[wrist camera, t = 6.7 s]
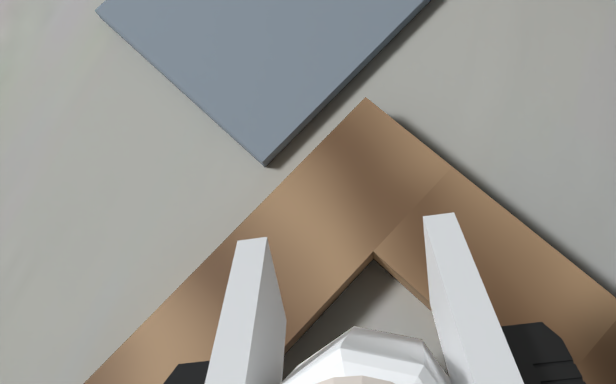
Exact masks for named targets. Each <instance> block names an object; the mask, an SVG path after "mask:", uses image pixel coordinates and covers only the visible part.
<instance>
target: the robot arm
mask: <svg viewBox="0 0 616 384" xmlns="http://www.w3.org/2000/svg"><path fill="white" fill-rule="evenodd" d="M423 226H424V238H425V250H426V262H427V274H428V286H429V298H430V306H431V310H432V313H433V317H434V321H435V325H436V329H437V332H438V336H439V340H440V344H441V348H442V351H443V355H444V359H445V363H446V367H447V370H448V374H449V378H450V382H451V384H586V383H585V382H584V381H583V377H582V375H581V373H580V371H579V370H578V368H577V366H576V364H574V362H573V358H572V356H571V355H570V353H569V351H568V349H567V347H566V345H565V343H564V341H563V340H562V338H561V337H559V336H558V335H557V334H556V333H555V332H553V331H552V330H551V329H550V328H549V327H547V326H546V325H545V324H544V323H543V322H535V323H526V324H517V325H508V326H500V323H499V321H498V319H497V316H496V314H495V311H494V309H493V306H492V304H491V301H490V299H489V297H488V294H487V292H486V289H485V287H484V284H483V282H482V279H481V277H480V275H479V272H478V270H477V267H476V265H475V262H474V260H473V257H472V255H471V253H470V250H469V248H468V245H467V243H466V240H465V238H464V235H463V233H462V231H461V228H460V226H459V223H458V221H457V218H456V216H455V213H454V212H452V213H445V214H437V215H430V216H423ZM286 321H287V320H286V316H285V312H284V307H283V303H282V299H281V295H280V290H279V286H278V282H277V278H276V273H275V269H274V265H273V261H272V256H271V252H270V248H269V243H268V239H267V237H262V238H254V239H247V240H239V241H237V245H236V249H235V254H234V258H233V262H232V267H231V271H230V275H229V280H228V284H227V288H226V293H225V297H224V302H223V306H222V310H221V315H220V319H219V323H218V328H217V332H216V336H215V341H214V345H213V349H212V354H211V358H210V361H201V362H192V363H183V364H178V365H177V366H176V368H175V369H174V370H173V372H172V373H171V374H170V375H169V377H168V378H167V379H166V381H165V382H164V383H163V384H280V383H281V382H282V375H283V361H284V348H285V335H286Z"/></svg>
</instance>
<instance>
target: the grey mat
mask: <svg viewBox="0 0 616 384" xmlns="http://www.w3.org/2000/svg"><path fill="white" fill-rule="evenodd" d="M430 1H431V0H106V1H105V2H103V3H102V4H101V5H100V6H99V7H98V8H97V9H96V10H95V11H96V13H97V14H98V15H99V17H100V18H101V19H102V20H103V21H104V22H106V23H107V24H108V25H109V26H110V27H111V28H112V29H113V30H114V31H115V32H117V33H118V34H119V35H120V36H121V37H122V38H123V39H124V40H125V41H127V42H128V43H129V44H130V45H131V46H132V47H133V48H134V49H135V50H136V51H138V52H139V53H140V54H141V55H142V56H143V57H144V58H145V59H146V60H147V61H149V62H150V63H151V64H152V65H153V66H154V67H155V68H156V69H157V70H158V71H160V72H161V73H162V74H163V75H164V76H165V77H166V78H167V79H168V80H169V81H171V82H172V83H173V84H174V85H175V86H176V87H177V88H178V89H179V90H180V91H182V92H183V93H184V94H185V95H186V96H187V97H188V98H189V99H190V100H192V101H193V102H194V103H195V104H196V105H197V106H198V107H199V108H200V109H201V110H203V111H204V112H205V113H206V114H207V115H208V116H209V117H210V118H211V119H212V120H214V121H215V122H216V123H217V124H218V125H219V126H220V127H221V128H222V129H223V130H225V131H226V132H227V133H228V134H229V135H230V136H231V137H232V138H233V139H234V140H236V141H237V142H238V143H239V144H240V145H241V146H242V147H243V148H244V149H245V150H247V151H248V152H249V153H250V154H251V155H252V156H253V157H254V158H255V159H256V160H258V161H259V162H260V163H261V164H262V165H263V166H264V167H266V166H267V165H268V164H269V163H270V161H271V160H272V159H273V158H274V157H275V156H276V155H277V154H278V153H279V152H280V151H281V150H282V149H283V148H284V147H285V146H286V145H287V144H288V143H289V142H290V141H291V140H292V139H293V138H294V137H295V136H296V135H297V134H298V133H299V132H300V131H301V130H302V129H303V128H304V127H305V126H306V125H307V124H308V123H309V122H310V121H311V120H312V119H313V118H314V117H315V116H316V115H317V114H318V113H319V112H320V111H321V110H322V109H323V108H324V107H325V106H326V105H327V104H328V103H329V102H330V101H331V100H332V99H333V98H334V97H335V96H336V95H337V94H338V93H339V92H340V91H341V90H342V89H343V88H344V87H345V86H346V85H347V84H348V83H349V82H350V81H351V80H352V79H353V78H354V77H355V76H356V75H357V74H358V73H359V72H360V71H361V70H362V69H363V68H364V67H365V66H366V65H367V64H368V63H369V62H370V61H371V60H372V59H373V58H374V57H375V56H376V55H377V54H378V53H379V52H380V51H381V50H382V49H383V48H384V47H385V46H386V45H387V44H388V43H389V42H390V41H391V40H392V39H393V38H394V37H395V36H396V35H397V34H398V33H399V32H400V31H401V30H402V29H403V28H404V27H405V26H406V25H407V24H408V23H409V22H410V21H411V20H412V19H413V18H414V17H415V16H416V15H417V14H418V13H419V12H420V11H421V10H422V9H423V8H424V7H425V6H426V5H427V4H428V3H429V2H430Z"/></svg>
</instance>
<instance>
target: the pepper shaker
mask: <svg viewBox="0 0 616 384" xmlns="http://www.w3.org/2000/svg"><path fill="white" fill-rule="evenodd" d="M280 384H451V382H450V378H449V377H448V375H447V374H446V373H445V371H444V370H443V368H442V367H441V366H440V364H439V363H438V361H437V360H436V359H435V357H434V356H433V354H432V353H431V351H430V350H429V349H428V347H427V346H426V344H425V343H424V342H423V340H422V339H418V338H413V337H407V336H402V335H397V334H392V333H387V332H382V331H377V330H372V329H367V328H362V327H357V326H353V327H352V328H351V329H349V330H348V331H346V332H345V333H343V334H342V335H341V336H339V337H338V338H336V339H335V340H333V341H332V342H331V343H329V344H328V345H326V346H325V347H323V348H322V349H321V350H319V351H318V352H316V353H315V354H313V355H312V356H311V357H309V358H308V359H306V360H305V361H303V362H302V363H301V364H299V365H298V366H297V367H296V368H295V369H294V370H293V371H292V372H291V373H290V374H289V375H288V376H287V377H286V378H285V379H284V380H283V381H282V382H281V383H280Z"/></svg>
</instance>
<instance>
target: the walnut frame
mask: <svg viewBox="0 0 616 384" xmlns="http://www.w3.org/2000/svg"><path fill="white" fill-rule="evenodd" d="M452 212H454V213H455V216H456V218H457V221H458V223H459V226H460V228H461V231H462V233H463V235H464V238H465V240H466V243H467V245H468V248H469V250H470V253H471V255H472V257H473V260H474V262H475V265H476V267H477V270H478V272H479V275H480V277H481V279H482V282H483V284H484V287H485V289H486V292H487V294H488V297H489V299H490V301H491V304H492V306H493V309H494V311H495V314H496V316H497V319H498V321H499V323H500V326H508V325H517V324H526V323H535V322H543V323H544V324H545V325H546V326H547V327H549V328H550V329H551V330H552V331H553V332H555V333H556V334H557V335H558V336H559V337H561V338H562V340H563V341H564V343H565V345H566V347H567V349H568V351H569V353H570V355H571V356H572V358H573V362H574V364H576V366H577V368H578V370H579V371H580V373H581V375H582V377H583V381H584V382H585V383H586V384H616V297H614V296H613V295H612V294H611V293H609V292H608V291H607V290H606V289H604V288H603V287H602V286H601V285H599V284H598V283H597V282H596V281H594V280H593V279H592V278H591V277H589V276H588V275H587V274H586V273H584V272H583V271H582V270H581V269H579V268H578V267H577V266H576V265H574V264H573V263H572V262H571V261H569V260H568V259H567V258H566V257H564V256H563V255H562V254H561V253H559V252H558V251H557V250H556V249H554V248H553V247H552V246H551V245H549V244H548V243H547V242H546V241H544V240H543V239H542V238H541V237H539V236H538V235H537V234H536V233H534V232H533V231H532V230H531V229H529V228H528V227H527V226H526V225H524V224H523V223H522V222H521V221H519V220H518V219H517V218H516V217H515V216H513V215H512V214H511V213H510V212H508V211H507V210H506V209H505V208H503V207H502V206H501V205H500V204H498V203H497V202H496V201H495V200H493V199H492V198H491V197H490V196H488V195H487V194H486V193H485V192H483V191H482V190H481V189H480V188H478V187H477V186H476V185H475V184H473V183H472V182H471V181H470V180H468V179H467V178H466V177H465V176H463V175H462V174H461V173H460V172H458V171H457V170H456V169H455V168H453V167H452V166H451V165H450V164H448V163H447V162H446V161H445V160H443V159H442V158H441V157H440V156H438V155H437V154H436V153H435V152H433V151H432V150H431V149H430V148H428V147H427V146H426V145H425V144H423V143H422V142H421V141H420V140H418V139H417V138H416V137H415V136H413V135H412V134H411V133H410V132H408V131H407V130H406V129H405V128H403V127H402V126H401V125H400V124H398V123H397V122H396V121H395V120H394V119H392V118H391V117H390V116H389V115H387V114H386V113H385V112H384V111H382V110H381V109H380V108H379V107H377V106H376V105H375V104H374V103H372V102H371V101H370V100H369V99H367V98H366V97H365V98H364V99H363V100H362V101H361V102H360V103H359V104H358V105H357V106H356V107H355V108H354V109H353V110H352V111H351V112H350V113H349V114H348V115H347V116H346V118H345V119H344V120H343V121H342V122H341V123H340V124H339V125H338V126H337V127H336V128H335V129H334V130H333V131H332V132H331V133H330V134H329V135H328V136H327V137H326V138H325V139H324V140H323V141H322V142H321V143H320V144H319V145H318V146H317V147H316V148H315V149H314V150H313V151H312V152H311V153H310V154H309V155H308V156H307V157H306V158H305V159H304V160H303V161H302V162H301V163H300V164H299V165H298V166H297V167H296V168H295V169H294V170H293V171H292V172H291V173H290V174H289V175H288V176H287V177H286V178H285V180H284V181H283V182H282V183H281V184H280V185H279V186H278V187H277V188H276V189H275V190H274V191H273V192H272V193H271V194H270V195H269V196H268V197H267V198H266V199H265V200H264V201H263V202H262V203H261V204H260V205H259V206H258V207H257V208H256V209H255V210H254V211H253V212H252V213H251V214H250V215H249V216H248V217H247V218H246V219H245V220H244V221H243V222H242V223H241V224H240V225H239V226H238V227H237V228H236V229H235V230H234V231H233V232H232V233H231V234H230V235H229V236H228V237H227V238H226V239H225V240H224V242H223V243H222V244H221V245H220V246H219V247H218V248H217V249H216V250H215V251H214V252H213V253H212V254H211V255H210V256H209V257H208V258H207V259H206V260H205V261H204V262H203V263H202V264H201V265H200V266H199V267H198V268H197V269H196V270H195V271H194V272H193V273H192V274H191V275H190V276H189V277H188V278H187V279H186V280H185V281H184V282H183V283H182V284H181V285H180V286H179V287H178V288H177V289H176V290H175V291H174V292H173V293H172V294H171V295H170V296H169V297H168V298H167V299H166V300H165V301H164V302H163V304H162V305H161V306H160V307H159V308H158V309H157V310H156V311H155V312H154V313H153V314H152V315H151V316H150V317H149V318H148V319H147V320H146V321H145V322H144V323H143V324H142V325H141V326H140V327H139V328H138V329H137V330H136V331H135V332H134V333H133V334H132V335H131V336H130V337H129V338H128V339H127V340H126V341H125V342H124V343H123V344H122V345H121V346H120V347H119V348H118V349H117V350H116V351H115V352H114V353H113V354H112V355H111V356H110V357H109V358H108V359H107V360H106V361H105V362H104V363H103V364H102V366H101V367H100V368H99V369H98V370H97V371H96V372H95V373H94V374H93V375H92V376H91V377H90V378H89V379H88V380H87V381H86V382H85V383H84V384H163V383H164V382H165V381H166V379H167V378H168V377H169V375H170V374H171V373H172V372H173V370H174V369H175V368H176V366H177V365H178V364H183V363H192V362H201V361H210V358H211V354H212V349H213V345H214V341H215V336H216V332H217V328H218V323H219V319H220V315H221V310H222V306H223V302H224V297H225V293H226V288H227V284H228V280H229V275H230V271H231V267H232V262H233V258H234V254H235V249H236V245H237V241H239V240H247V239H254V238H262V237H267V239H268V243H269V248H270V252H271V256H272V261H273V265H274V269H275V273H276V278H277V282H278V286H279V290H280V295H281V299H282V303H283V307H284V312H285V316H286V320H287V321H286V335H285V348H284V355H285V353H286V352H287V351H288V350H289V349H290V348H291V347H292V346H293V345H294V344H295V343H296V342H297V341H298V339H299V338H300V337H301V336H302V335H303V334H304V333H305V332H306V331H307V330H308V329H309V328H310V327H311V325H312V324H313V323H314V322H315V321H316V320H317V319H318V318H319V317H320V316H321V315H322V314H323V313H324V312H325V310H326V309H327V308H328V307H329V306H330V305H331V304H332V303H333V302H334V301H335V300H336V299H337V298H338V296H339V295H340V294H341V293H342V292H343V291H344V290H345V289H346V288H347V287H348V286H349V285H350V284H351V283H352V281H353V280H354V279H355V278H356V277H357V276H358V275H359V274H360V273H361V272H362V271H363V270H364V269H365V267H366V266H367V265H368V264H369V263H370V262H371V261H372V260H373V259H374V260H375V261H377V262H378V263H379V264H380V265H381V266H382V267H383V268H384V269H385V270H387V271H388V272H389V273H390V274H391V275H392V276H393V277H394V278H395V279H397V280H398V281H399V282H400V283H401V284H402V285H403V286H404V287H405V288H406V289H408V290H409V291H410V292H411V293H412V294H413V295H414V296H415V297H416V298H418V299H419V300H420V301H421V302H422V303H423V304H424V305H425V306H426V307H428V308H429V309H430V310H431V306H430V298H429V286H428V274H427V262H426V250H425V238H424V226H423V216H430V215H437V214H445V213H452ZM431 311H432V310H431Z"/></svg>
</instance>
